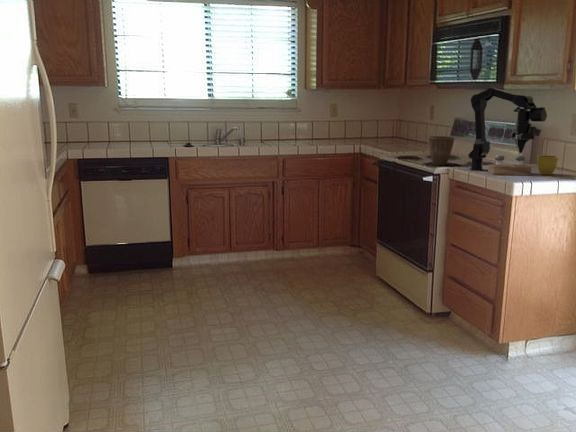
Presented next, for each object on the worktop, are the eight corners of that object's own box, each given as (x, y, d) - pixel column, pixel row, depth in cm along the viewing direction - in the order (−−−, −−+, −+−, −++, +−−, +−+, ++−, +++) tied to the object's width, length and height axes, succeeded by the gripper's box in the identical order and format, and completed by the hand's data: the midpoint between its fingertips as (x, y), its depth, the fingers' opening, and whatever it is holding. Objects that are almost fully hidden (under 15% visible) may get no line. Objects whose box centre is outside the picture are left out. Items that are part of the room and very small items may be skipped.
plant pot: (458, 165, 316) (459, 137, 313) (435, 166, 312) (437, 138, 308) (443, 162, 330) (444, 136, 327) (421, 163, 326) (423, 136, 322)
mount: (487, 172, 282) (488, 164, 281) (524, 172, 280) (524, 164, 279) (493, 174, 272) (493, 166, 271) (530, 175, 270) (531, 167, 270)
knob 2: (513, 167, 277) (514, 155, 276) (522, 167, 277) (523, 155, 276) (516, 167, 273) (517, 156, 272) (525, 168, 273) (526, 156, 272)
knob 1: (493, 166, 278) (494, 155, 277) (502, 166, 278) (503, 155, 277) (495, 167, 274) (496, 156, 273) (504, 167, 274) (505, 156, 273)
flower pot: (556, 175, 269) (557, 157, 267) (536, 174, 272) (538, 156, 270) (554, 173, 277) (556, 155, 275) (535, 172, 280) (537, 155, 278)
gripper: (546, 121, 261) (543, 154, 264) (533, 120, 279) (531, 151, 282) (522, 121, 262) (520, 154, 265) (511, 120, 280) (508, 151, 283)
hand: (520, 152), depth 274 cm, fingers closed
